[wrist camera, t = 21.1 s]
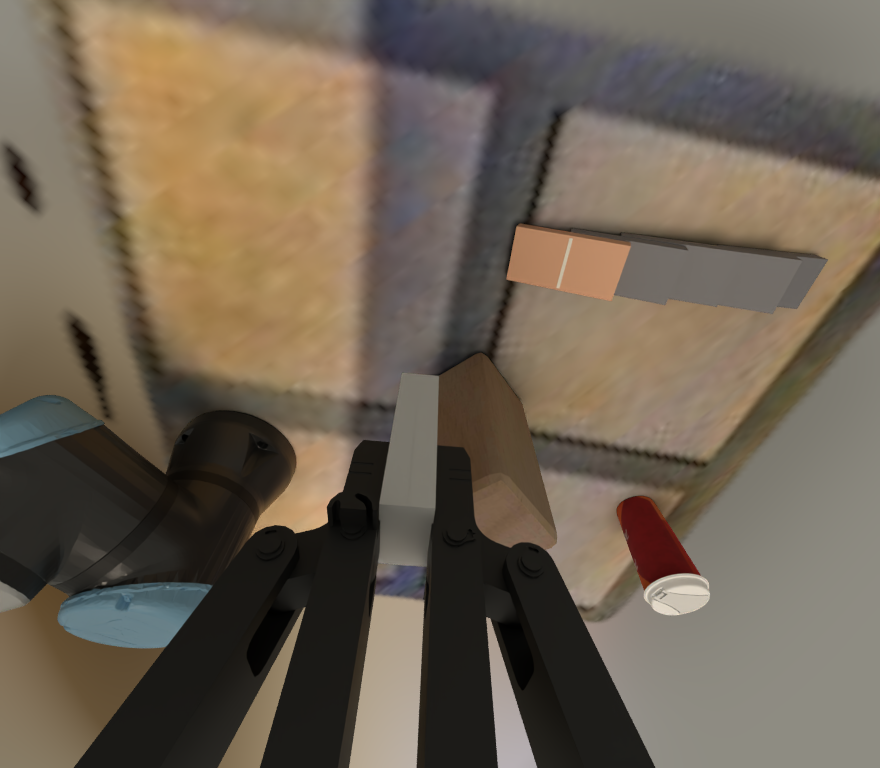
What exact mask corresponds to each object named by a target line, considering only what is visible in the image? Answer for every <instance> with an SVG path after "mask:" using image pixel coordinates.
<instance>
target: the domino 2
mask: <svg viewBox="0 0 880 768" xmlns="http://www.w3.org/2000/svg"><path fill="white" fill-rule="evenodd" d="M620 236H624V237H630V238H636V239H643V240H649V241H655V242H661V243H667V244H674V245H680V246H686V247H687V249H688V250H689V251H688V253H687V256H686V258H685V260H684V263H683V265H682V267H681V270H680V272H679V274H678V277H677V279H676V281H675V284H674V286H673V288H672V291H671V293H670V295H669V298H668V299H674V300H679V301H685V302H691V303H697V304H703V305H709V306H715V307H717V305H718V303H719V301H720V299H721V297H722V295H723V293H724V291H725V289H726V287H727V285H728V283H729V281H730V279H731V277H732V275H733V273H734V271H735V269H736V266H737V264H738V262H739V260H740V258H741V256H742V254H743V252H742V251H740V250H739V249H738V248H731V247H723V246H716V245H709V244H702V243H694V242H687V241H680V240H673V239H665V238H658V237H651V236H644V235H636V234H629V233H622V232H621V235H620Z"/></svg>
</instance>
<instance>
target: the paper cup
mask: <svg viewBox="0 0 880 768" xmlns="http://www.w3.org/2000/svg"><path fill="white" fill-rule="evenodd" d="M617 515H618V518H619V521H620V524H621V527H622V530H623V533H624V536H625V538H626V541H627V544H628V547H629V550H630V552H631V555H632V558H633V561H634V563H635V566H636V569H637V572H638V575H639V577H640V580H641V583H642V586H643V588H644V598H645V600H646V601H647V602H648V603H649V604H650V605H651V606H652V608H653V609H654V610H655V611H657V612H659V613H661V614H666V615H680V614H685V613H689V612H692V611H695V610H697V609H699V608H701V607H702V606H704V605H705V604H706V603H707V602H708V600H709V597H710V592H709V583H708V581H707V580H706V579H705V578H704V577H702V576H701V575H700V573H699V572H698V570H697V569H696V567H695V565H694V564H693V562H692V561H691V559H690V557H689V556H688V554H687V553H686V551H685V550H684V548H683V546H682V545H681V543H680V542H679V540H678V538H677V537H676V535H675V534H674V532H673V531H672V529H671V527H670V526H669V524H668V523H667V521H666V520H665V518H664V517H663V515H662V513H661V512H660V510H659V509H658V507H657V506H656V504H655V503H654V502H653V500H652V499H650V498H648V497H645V496H635V497H631V498H628V499H626V500H624V501H623V502H621V503H620V504H619V506H618V507H617Z"/></svg>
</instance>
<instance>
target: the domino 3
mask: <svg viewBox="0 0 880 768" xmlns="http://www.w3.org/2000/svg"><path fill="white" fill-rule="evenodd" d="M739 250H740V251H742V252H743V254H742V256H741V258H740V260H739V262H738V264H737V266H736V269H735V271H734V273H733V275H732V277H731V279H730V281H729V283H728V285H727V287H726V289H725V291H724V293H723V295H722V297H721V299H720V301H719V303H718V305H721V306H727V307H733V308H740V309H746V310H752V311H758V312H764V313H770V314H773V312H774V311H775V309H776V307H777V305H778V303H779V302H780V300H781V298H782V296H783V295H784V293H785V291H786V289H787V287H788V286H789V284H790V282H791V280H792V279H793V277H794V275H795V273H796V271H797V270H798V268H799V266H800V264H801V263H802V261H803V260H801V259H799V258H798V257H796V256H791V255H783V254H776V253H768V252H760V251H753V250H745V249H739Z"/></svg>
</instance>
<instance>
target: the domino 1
mask: <svg viewBox="0 0 880 768" xmlns="http://www.w3.org/2000/svg"><path fill="white" fill-rule="evenodd" d="M571 232H573V233H579V234H585V235H590V236H596V237H602V238H608V239H614V240H620V241H626V242H630V244H631V248H630V251H629V253H628V256H627V259H626V262H625V265H624V267H623V270H622V273H621V276H620V279H619V282H618V284H617V287H616V290H615V293H614V295H616V296H621V297H627V298H632V299H637V300H642V301H647V302H652V303H657V304H662V305H665V304H666V302H667V300H668V298H669V295H670V293H671V291H672V288H673V286H674V284H675V281H676V279H677V277H678V274H679V272H680V270H681V267H682V265H683V263H684V260H685V258H686V256H687V253H688V251H689V250H688V249H687V247H686V246H680V245H674V244H667V243H661V242H655V241H649V240H643V239H636V238H630V237H624V236H618V235H612V234H605V233H599V232H593V231H587V230H581V229H575V228H572V229H571Z"/></svg>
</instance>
